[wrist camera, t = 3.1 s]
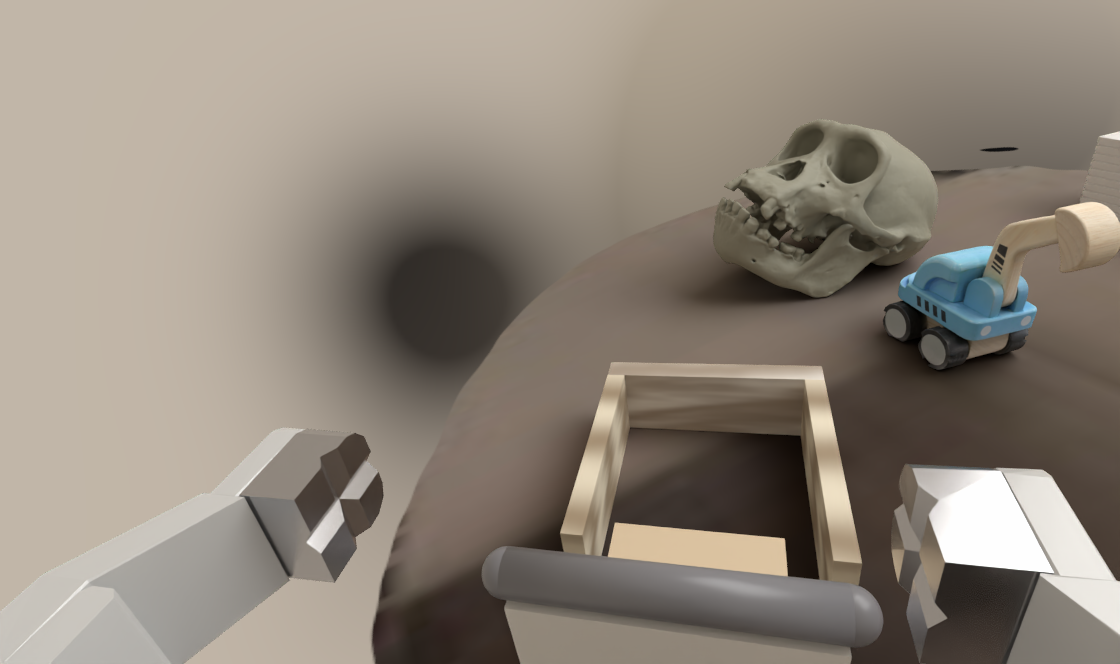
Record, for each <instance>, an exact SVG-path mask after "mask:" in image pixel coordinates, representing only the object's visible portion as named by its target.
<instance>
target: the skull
mask: <svg viewBox="0 0 1120 664" xmlns="http://www.w3.org/2000/svg"><path fill="white" fill-rule="evenodd" d="M724 187H726V188H728V189H730V190H732V191H735V190H736V189H737V188H739V189H740V190H741V191H742V192H744V195H745V196H746V197H747V198H748V199H749V200H751V201H752V202H753V203H754V204H753V205H752V206H749V207H747V208H746V210H745V209H744V208H743V207H742V205H741V204H740V203H738V202H736V201H735V202H734V201H733V200H731V199H729V200H726V199H725V198H724V197H723V198H722V199H721V201H720V203H719V205H718V208H717V212H716V216H715V226H714V235H713V242H714V247H715V249H716V251H717V253H718V254H719V255H720V257H721V258H722V259H723V260H724V261H725V262H726V263H730V262H731V263H734V264H737V265H740V266H742V267H743V268H745V269H747V270H749V271H751V272H753V273H754V274H756V275H758V276H760V277H762V278H763V279H765V280H767V281H769V282H771V283H773V284H775V285H777V286H780V287H784V288H789V289H793V290H797V291H800V292H802V293H804V294H807V295H809V296H811V297H817V298H819V297H827V296H829V295H831V294H833V293H834V292H835V291H837V290H839V289H840V288H842V287H843V286H844V285H846V284H847V283H849V282H850V281H851V280H852V279H853V278H854V277H855V276H856V275H857V274H858V273H859V272H860V271H861V270H862V269H863V268H864V267H866V266H867V265H868V264H869V263H871V262H872V263H874V264H876V265H885V266H890V265H894V264H898V263H901V262H903V261H904V260H907V259H908V258H910V257H912V256H913V255H915V254H916V253H917V252H919V251H920V250H921V249H922V248H923V247H924V245H925V244H926V243H927V242H928V241H929V239H930V238H931V233H930V231H931V228H932V225H933V222H934V219H935V216H936V212H937V205H938V191H937V186H936V183H935V180H934V178H933V176H932V174H931V172H930V170H929V169H928V167H927V166H926V165H925V163H924V162H923V161H922V160H921V159H919V158H918V157H917V156H916V155H915V154H914V153H912V152H911V151H910V150H908V149H907V148H906V147H904V146H902V145H901V144H899V143H898V142H897V141H896V140H894V139H893V138H892V137H891V136H890V135H889V134H887V133H885V132H882V131H879V130H873V129H866V128H864V127H860V126H857V125H851V124H846V125H844V124H840V123H839V122H837V121H829V120H824V119H820V120H816V121H813V122H810V123H808V124H805V125H803V126H800V127H799V128H797V129H796V130H795V131H794V133H793V134H792V136H791V137H790V139H789V141H788V142H787V143H786V145H785V146H784V148H783V149H782V150H781V151H780V152H779V154H777V155H776V156H775V157H774V158H773V159H772V160H771V161H770V162H769V163H768V165H767V166H766V167H763V168H758V169H748V170H747V171H746V172H745V173H744V174H743V175H741V176H739V177H738V178H736V179H735V180H733V181H732V182H730V183H727V184H726V185H725V186H724ZM750 215H751V216H752V218H750ZM790 229H793V231H794V232H793V233H792V234H791V238H792V239H794V240H795V241H801V240H802V238H805V237H807V236H808V240H809V241H810V242H812V243H814V239H815V238H818V239H819V240H823V241H824V242H823V243H822V244H821V245H820V246H819V248H818V249H817V250H815V251H814V252H812V253H811V254H804V250H803V249H801V248H795V247H794V246H792V245H790V244H788V243H783V242H781V243H780V244H779V240H780V238H781V237H782V236H783V235H784V234H785V233H786V232H787V231H789V230H790ZM778 245H779V250H776V249H775V248H774V247H777V246H778Z"/></svg>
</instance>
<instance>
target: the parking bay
mask: <svg viewBox="0 0 1120 664" xmlns="http://www.w3.org/2000/svg"><path fill="white" fill-rule="evenodd" d="M630 427H633V428H654V429H675V430H695V431H716V432H737V433H758V434H779V435H800V436H801V443H802V450H803V458H804V465H805V473H806V480H807V488H808V496H809V503H810V511H811V518H812V526H813V533H814V541H815V548H816V556H817V564H818V571H819V579H820V580H825V581H835V582H844V583H850V584H855V585H857V586H858V585H859V579H860V573H861V567H862V561H861V556H860V551H859V546H858V541H857V536H856V531H855V527H854V522H853V517H852V512H851V507H850V502H849V497H848V492H847V487H846V483H845V478H844V473H843V468H842V463H841V458H840V453H839V448H838V444H837V439H836V434H835V429H834V424H833V419H832V414H831V409H830V405H829V400H828V395H827V390H826V385H825V380H824V375H823V370H822V366H788V365H732V364H677V363H621V362H612V363H611V366H610V369H609V373H608V376H607V379H606V383H605V386H604V389H603V393H602V396H601V399H600V403H599V406H598V409H597V413H596V416H595V419H594V422H593V426H592V429H591V432H590V436H589V439H588V442H587V446H586V449H585V452H584V456H583V459H582V462H581V465H580V469H579V472H578V475H577V479H576V482H575V485H574V489H573V492H572V495H571V499H570V502H569V505H568V509H567V512H566V515H565V518H564V522H563V525H562V528H561V532H560V535H561V540H562V545H563V550H564V552H568V553H577V554H586V555H595V556H601V555H602V551H603V546H604V542H605V537H606V533H607V528H608V524H609V519H610V515H611V511H612V506H613V502H614V497H615V493H616V488H617V484H618V479H619V475H620V470H621V466H622V461H623V457H624V452H625V448H626V443H627V439H628V434H629V430H630Z"/></svg>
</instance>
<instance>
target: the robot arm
mask: <svg viewBox="0 0 1120 664" xmlns="http://www.w3.org/2000/svg"><path fill="white" fill-rule="evenodd" d="M369 454H370V449H369V447H368V445H367V442H366V440H365V438H364V436H362V435H359V434H356V433H349V432H337V431H325V430H312V429H306V430H304V429H294V428H280V429H277V430H274V431H272V432H271V433H270V434H269V435H268V436H267V437H266V438H265V439H264V440H263V441H262V442H261V443H260V444H259V445H258V446H257V447H256V448H255V449H254V450H253V451H252V452H251V453H250V454H249V455H248V456H247V457H246V458H245V459H244V460H243V461H242V462H241V463H240V464H239V465H238V466H237V467H236V468H235V469H234V470H233V471H232V472H231V473H230V474H229V475H228V476H227V477H226V478H225V479H224V480H223V481H222V482H221V483H220V484H219V485H218V486H217V487H216V489H214V490H213V491H212V492H211V493H210V494H208V493H202V494H200V495H198V496H196V497H194V498H192V499H190V500H188V501H186V502H184V503H182V504H180V505H178V506H176V507H174V508H172V509H170V510H168V511H167V512H164V513H162V514H161V515H158V516H156V517H154V518H153V519H151V520H149V521H147V522H145V523H143V524H141V525H139V526H137V527H135V528H133V529H131V530H129V531H127V532H125V533H123V534H121V535H119V536H117V537H115V538H113V539H111V540H109V541H107V542H105V543H103V544H101V545H99V546H97V547H95V548H93V549H91V550H89V551H87V552H85V553H83V554H82V555H80V556H78V557H76V558H74V559H72V560H70V561H68V562H66V563H64V564H62V565H60V566H58V567H56V568H54V569H52V570H50V571H48V572H46V573H44V574H42V575H41V576H40V577H39V578H38V579H36V580H35V581H34V582H33V583H32V584H31V585H30V586H28V587H27V588H26V589H25V590H24V591H23V592H22V593H21V594H19V595H18V596H17V597H16V598H15V599H14V600H13V601H12V602H10V603H9V604H8V605H7V606H6V607H5V608H4V609H3V610H1V611H0V664H184V663H185V662H186V661H188V660H189V659H190V658H191V657H193V656H194V655H195V654H197V653H198V652H199V651H200V650H202V649H203V648H204V647H206V646H207V645H208V644H209V643H211V642H212V641H213V640H215V639H216V638H217V637H218V636H220V635H221V634H222V633H223V632H225V631H226V630H227V629H229V628H230V627H231V626H232V625H233V624H235V623H236V622H237V621H239V620H240V619H241V618H243V617H244V616H245V615H246V614H248V613H249V612H250V611H251V610H253V609H254V608H255V607H257V606H258V605H259V604H260V603H262V602H263V601H264V600H265V599H267V598H268V597H269V596H271V595H272V594H273V593H274V592H276V591H277V590H278V589H279V588H281V587H282V586H283V585H285V584H286V583H287V582H288V581H289V578H297V579H306V580H315V581H325V582H335V581H336V580H337V578H338V577H339V575H340V574H341V572H342V571H343V569H344V567H345V566H346V564H347V562H348V561H349V560H350V558H351V557H352V555H353V553H354V552H355V551H356V549H357V547H356V538H355V537H356V536H358V535H359V534H361V533H362V532H364V531H365V530H367V529H368V528H370V527H371V526H372V524H373V522H374V521H375V519H376V517H377V516H378V514H379V511H380V508H381V504H382V500H383V485H382V481H381V478H380V475H379V472H378V471H377V470H376V469H375V468H374V467H373V466H372V465H371V464H369V463H368V462H367V459H368V456H369ZM899 489H900V493H901V496H902V499H903V503H904V504H903V505H901V506H900V507H899V508H897V509H896V510H895V511H894V516H893V523H892V555H893V561H894V567H895V571H896V575H897V579H898V583H899V584H900V585H901V586H902V587H903V588H904V589H905V590H906V591H907V592H908V593H910V598H909V603H908V608H907V613H906V614H907V618H908V622H909V625H910V629H911V633H912V637H913V640H914V644H915V648H916V651H917V655H918V659H919V663H923V664H1120V581H1116V579H1115V578H1114V576H1113V574H1112V573H1111V571H1110V570H1109V568H1108V566H1107V565H1106V563H1105V562H1104V560H1103V558H1102V557H1101V555H1100V554H1099V552H1098V550H1097V549H1096V547H1095V546H1094V544H1093V542H1092V541H1091V539H1090V538H1089V536H1088V534H1087V533H1086V531H1085V529H1084V528H1083V526H1082V525H1081V523H1080V521H1079V520H1078V518H1077V517H1076V515H1075V513H1074V512H1073V510H1072V509H1071V507H1070V505H1069V504H1068V502H1067V501H1066V499H1065V497H1064V496H1063V494H1062V493H1061V491H1060V489H1059V488H1058V486H1057V485H1056V483H1055V481H1054V480H1053V478H1052V476H1051V475H1049V474H1048V473H1046V472H1045V471H1044V470H1035V469H1011V468H995V469H991V468H975V467H955V466H935V465H915V464H905V466H904V468H903V470H902V472H901V477H900V482H899Z"/></svg>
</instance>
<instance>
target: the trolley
mask: <svg viewBox="0 0 1120 664" xmlns="http://www.w3.org/2000/svg"><path fill="white" fill-rule="evenodd" d="M482 580H483V583H484V586H485V588H486V589H487V591H488V592H489V593H490V594H491V595H492V596H494V597H496V598H498V599H501V600H507V602H506V604H505V607H504V610H505V613H506V617H507V620H508V623H509V627H510V630H511V633H512V637H513V640H514V644H515V647H516V650H517V654H518V657H519V660H520V664H850V663H851V651H850V647H864V646H867V645H869V644H871V643H872V642H874V641H875V640H876V639H877V638H878V636H879V635H880V633H881V631H882V627H883V615H882V611H881V608H880V606H879V604H878V602H877V601H876V599H875V598H874V597H873V596H872V595H871V594H870V593H869V592H868V591H867V590H865V589H864V588H862V587H860V586H857V585H855V584H850V583H844V582H835V581H825V580H816V579H807V578H798V577H789V576H788V573H787V560H786V548H785V539H784V538H774V537H763V536H752V535H741V534H730V533H720V532H709V531H698V530H687V529H676V528H666V527H655V526H644V525H633V524H622V523H615V526H614V531H613V535H612V540H611V545H610V550H609V554H608V557H605V556H595V555H586V554H577V553H568V552H559V551H549V550H540V549H531V548H522V547H513V546H504V547H500V548H498V549H496V550H494V551H493V552H491V553H490V554H489V556H488V557H487V558H486V560H485V562H484V564H483V568H482Z"/></svg>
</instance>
